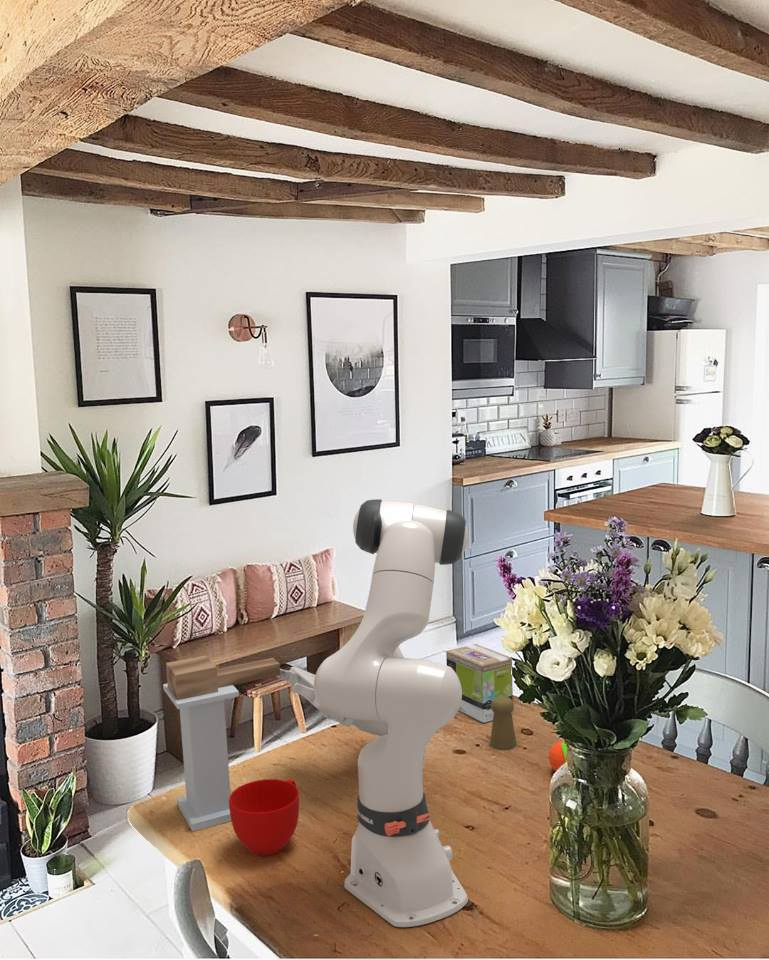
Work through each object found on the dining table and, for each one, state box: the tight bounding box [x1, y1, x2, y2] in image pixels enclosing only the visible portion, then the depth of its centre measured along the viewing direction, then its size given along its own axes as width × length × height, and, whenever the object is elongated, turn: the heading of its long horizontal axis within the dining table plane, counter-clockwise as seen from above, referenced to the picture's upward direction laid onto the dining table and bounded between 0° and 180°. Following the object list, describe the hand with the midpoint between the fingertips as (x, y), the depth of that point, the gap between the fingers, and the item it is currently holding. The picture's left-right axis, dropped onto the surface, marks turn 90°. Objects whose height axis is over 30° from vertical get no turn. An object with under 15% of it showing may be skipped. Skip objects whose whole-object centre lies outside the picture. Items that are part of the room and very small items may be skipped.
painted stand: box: [162, 683, 240, 832], centre depth 178 cm, size 12×12×26 cm
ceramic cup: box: [229, 778, 300, 856], centre depth 168 cm, size 13×17×10 cm
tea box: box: [445, 643, 514, 723], centre depth 224 cm, size 15×10×15 cm, turn 32°
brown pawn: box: [489, 696, 517, 751], centre depth 204 cm, size 6×6×11 cm
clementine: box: [548, 740, 567, 772], centre depth 189 cm, size 8×7×7 cm
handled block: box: [165, 655, 281, 700], centre depth 178 cm, size 8×22×5 cm, turn 117°
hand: (284, 679), depth 184 cm, fingers open, 8 cm apart
